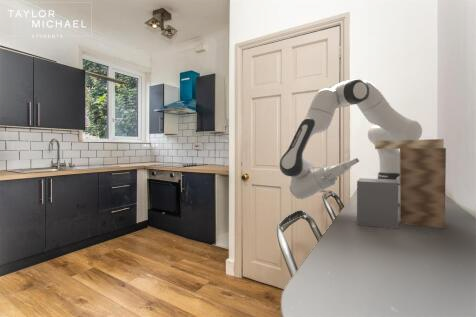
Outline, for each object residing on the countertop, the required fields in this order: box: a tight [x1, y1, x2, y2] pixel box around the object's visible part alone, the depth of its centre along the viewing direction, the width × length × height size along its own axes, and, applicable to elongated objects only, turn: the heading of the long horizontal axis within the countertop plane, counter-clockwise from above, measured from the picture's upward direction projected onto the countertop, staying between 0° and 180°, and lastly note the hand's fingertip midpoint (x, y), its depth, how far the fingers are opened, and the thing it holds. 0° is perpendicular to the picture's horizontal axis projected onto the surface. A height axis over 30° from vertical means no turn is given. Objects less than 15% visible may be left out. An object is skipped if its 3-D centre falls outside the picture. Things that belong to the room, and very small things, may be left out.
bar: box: [374, 138, 445, 150], centre depth 89 cm, size 20×3×3 cm, turn 59°
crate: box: [356, 177, 399, 230], centre depth 88 cm, size 12×10×15 cm
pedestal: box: [398, 147, 447, 229], centre depth 88 cm, size 12×10×26 cm
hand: (357, 160), depth 98 cm, fingers open, 8 cm apart
